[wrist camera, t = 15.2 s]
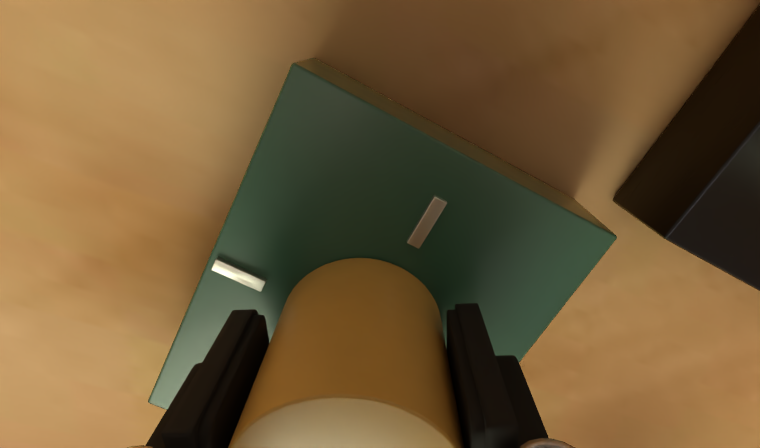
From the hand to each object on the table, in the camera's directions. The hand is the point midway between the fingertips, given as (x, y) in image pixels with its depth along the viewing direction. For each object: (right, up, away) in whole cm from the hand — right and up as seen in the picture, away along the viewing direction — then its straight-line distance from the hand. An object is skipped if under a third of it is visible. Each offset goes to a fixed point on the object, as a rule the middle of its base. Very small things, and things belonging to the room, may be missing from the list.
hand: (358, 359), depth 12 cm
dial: (0, 0, +1) cm, 1 cm away
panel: (0, +2, +4) cm, 4 cm away
